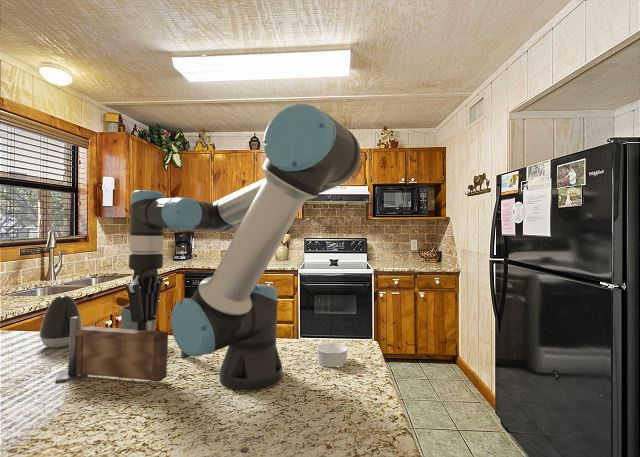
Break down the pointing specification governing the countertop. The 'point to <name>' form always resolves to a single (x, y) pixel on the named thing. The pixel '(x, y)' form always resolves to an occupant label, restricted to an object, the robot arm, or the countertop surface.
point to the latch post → (184, 355)
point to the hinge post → (71, 354)
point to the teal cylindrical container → (127, 319)
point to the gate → (122, 353)
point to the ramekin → (332, 354)
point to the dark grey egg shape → (58, 322)
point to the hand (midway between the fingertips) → (143, 347)
